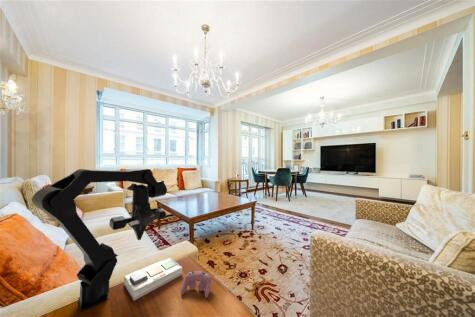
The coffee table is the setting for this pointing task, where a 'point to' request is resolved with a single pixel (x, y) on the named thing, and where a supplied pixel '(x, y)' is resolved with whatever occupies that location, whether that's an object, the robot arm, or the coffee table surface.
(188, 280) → the video game controller
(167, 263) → the sage key
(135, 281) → the charcoal key
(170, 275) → the pad
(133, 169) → the robot arm
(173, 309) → the coffee table surface
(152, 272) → the terracotta key
